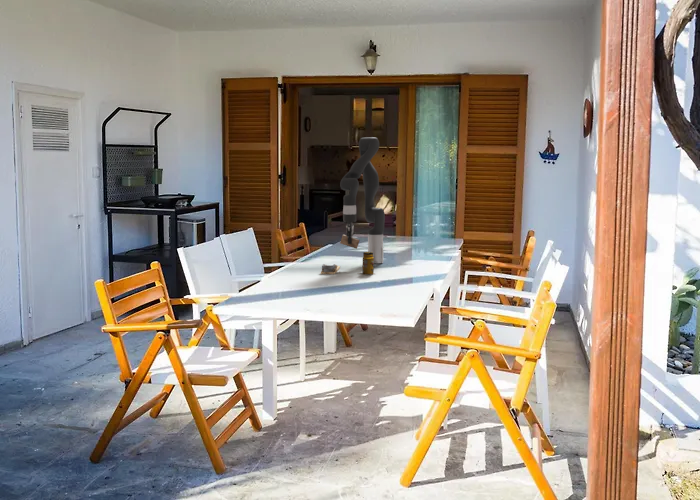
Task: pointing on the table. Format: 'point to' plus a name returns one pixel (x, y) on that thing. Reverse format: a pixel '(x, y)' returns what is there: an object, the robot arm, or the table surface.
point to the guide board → (329, 269)
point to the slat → (354, 241)
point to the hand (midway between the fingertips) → (350, 243)
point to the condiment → (368, 264)
